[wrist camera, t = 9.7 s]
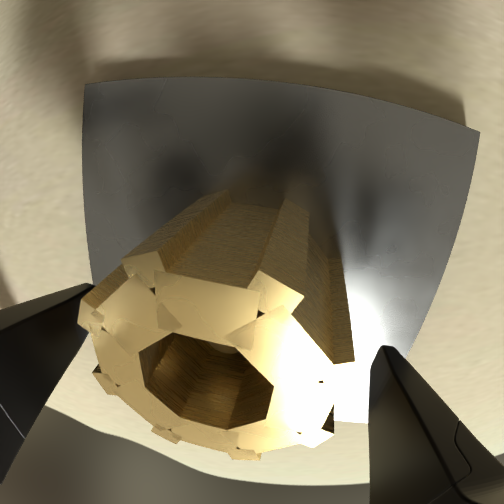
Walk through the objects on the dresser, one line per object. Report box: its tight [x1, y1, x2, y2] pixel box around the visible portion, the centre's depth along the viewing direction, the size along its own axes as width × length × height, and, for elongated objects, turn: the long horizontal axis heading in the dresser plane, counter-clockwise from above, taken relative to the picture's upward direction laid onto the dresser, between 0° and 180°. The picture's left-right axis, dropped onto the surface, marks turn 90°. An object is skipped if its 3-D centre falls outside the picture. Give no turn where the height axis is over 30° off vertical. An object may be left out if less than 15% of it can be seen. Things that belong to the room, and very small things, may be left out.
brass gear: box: [77, 189, 358, 460], centre depth 9 cm, size 7×7×5 cm
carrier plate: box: [82, 77, 480, 423], centre depth 10 cm, size 14×14×4 cm
